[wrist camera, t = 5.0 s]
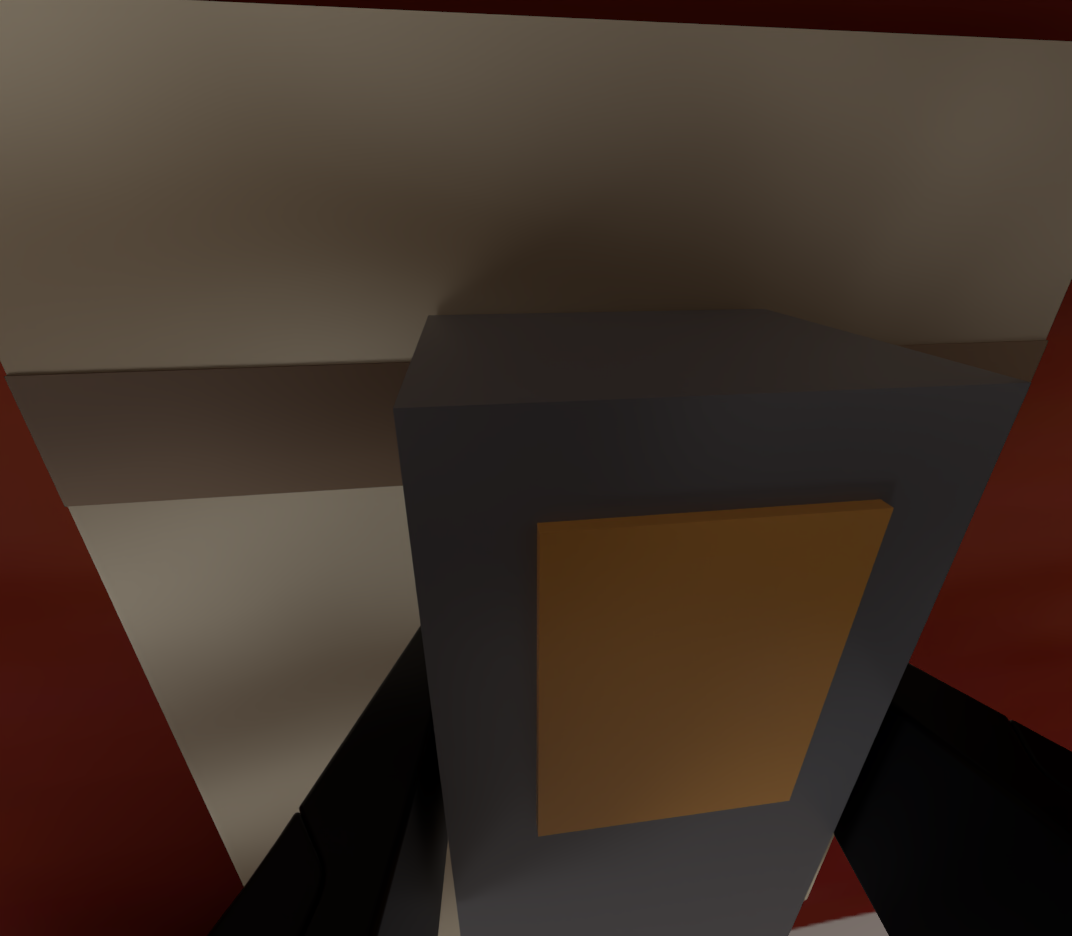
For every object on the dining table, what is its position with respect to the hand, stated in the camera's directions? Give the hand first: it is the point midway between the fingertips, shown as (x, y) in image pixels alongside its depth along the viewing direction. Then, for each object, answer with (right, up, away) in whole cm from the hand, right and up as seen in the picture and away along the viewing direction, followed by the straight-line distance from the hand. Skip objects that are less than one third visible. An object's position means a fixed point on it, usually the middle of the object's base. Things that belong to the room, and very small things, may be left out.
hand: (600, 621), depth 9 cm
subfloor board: (0, -1, +4) cm, 4 cm away
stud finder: (0, 0, +1) cm, 1 cm away
